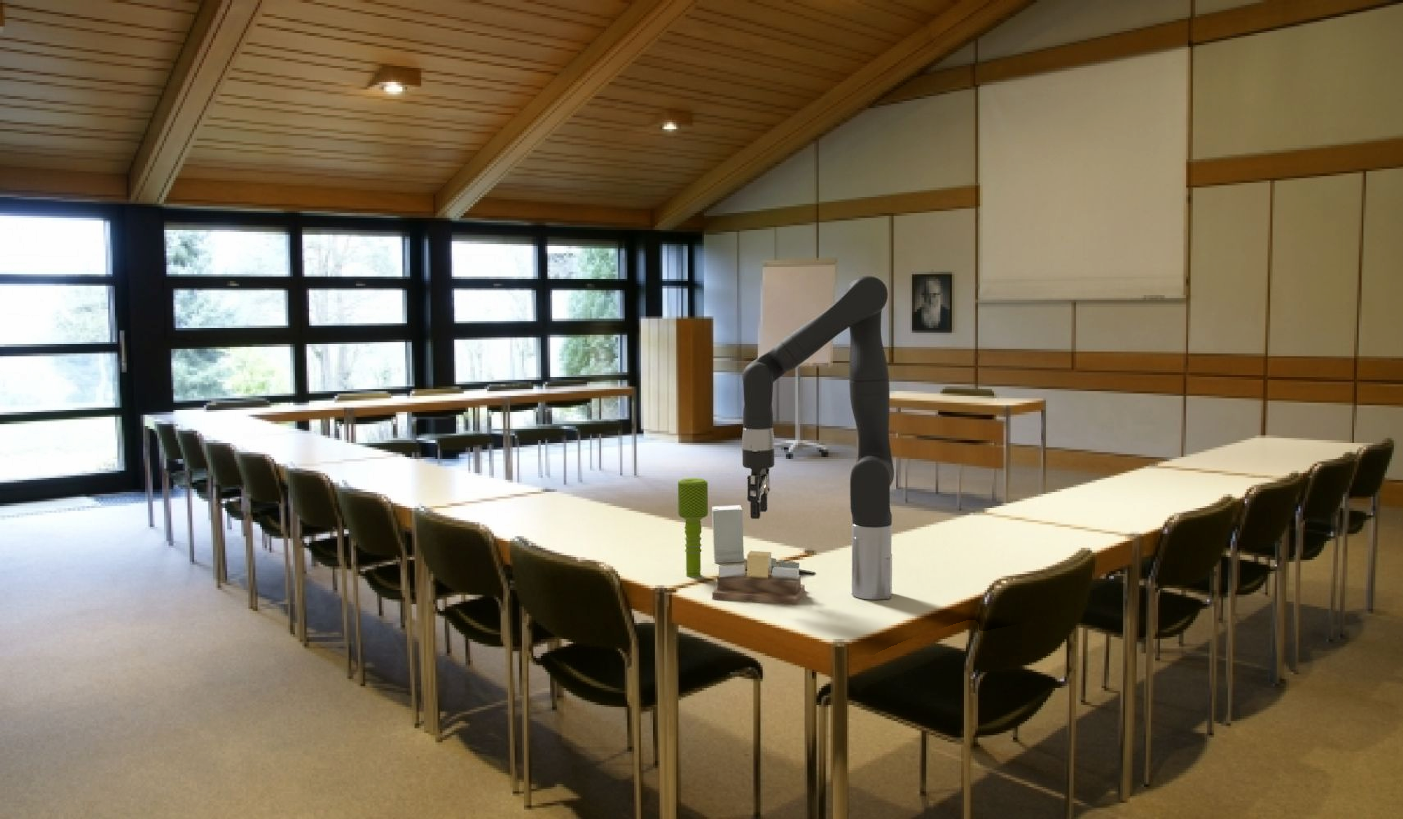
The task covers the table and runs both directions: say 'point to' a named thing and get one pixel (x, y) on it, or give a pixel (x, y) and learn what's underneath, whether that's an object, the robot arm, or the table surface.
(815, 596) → the table surface
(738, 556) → the skincare box
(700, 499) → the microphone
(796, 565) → the metal bracket
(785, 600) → the base
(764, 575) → the natural wood cube
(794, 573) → the grey bar
